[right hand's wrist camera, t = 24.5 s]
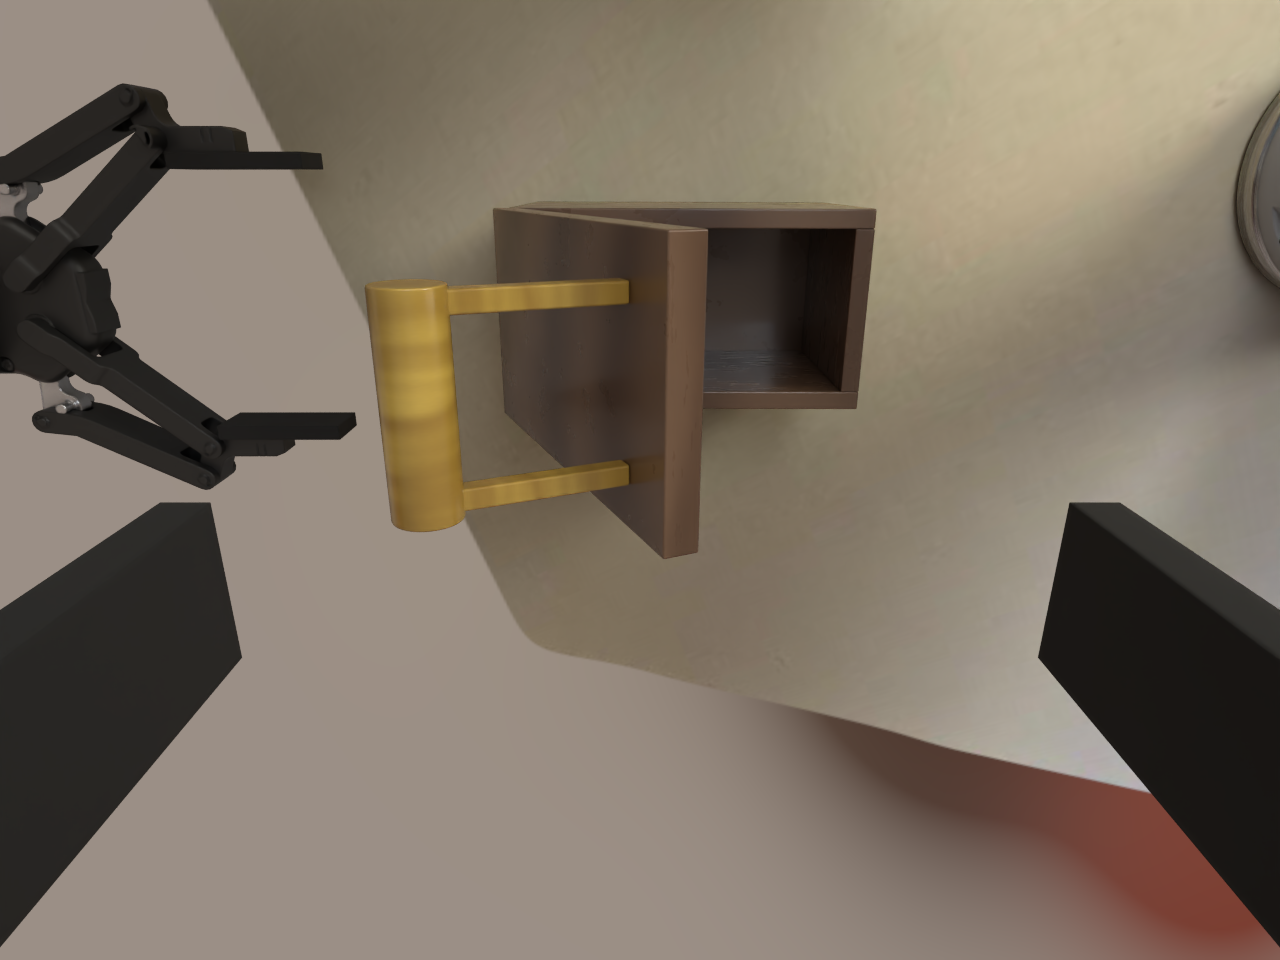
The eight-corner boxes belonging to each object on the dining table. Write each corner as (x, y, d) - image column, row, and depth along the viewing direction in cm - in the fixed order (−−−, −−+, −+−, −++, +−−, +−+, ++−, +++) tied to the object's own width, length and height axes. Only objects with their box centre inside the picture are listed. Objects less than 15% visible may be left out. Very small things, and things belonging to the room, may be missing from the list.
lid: (709, 228, 21) (372, 235, 18) (698, 553, 24) (413, 610, 21) (518, 207, 36) (317, 210, 33) (528, 410, 39) (345, 431, 36)
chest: (823, 202, 47) (877, 209, 36) (811, 361, 50) (856, 409, 40) (537, 201, 47) (508, 207, 36) (543, 360, 50) (518, 408, 40)
